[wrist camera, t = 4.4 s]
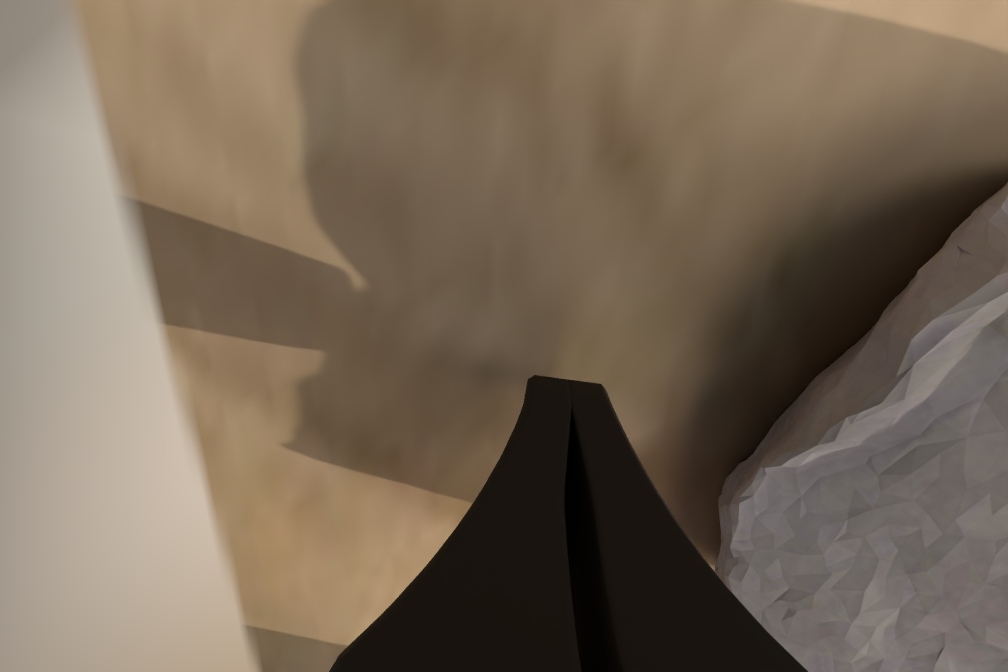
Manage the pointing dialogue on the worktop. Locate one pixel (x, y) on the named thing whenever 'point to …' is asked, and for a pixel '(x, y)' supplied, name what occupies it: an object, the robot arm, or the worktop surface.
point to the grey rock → (891, 483)
